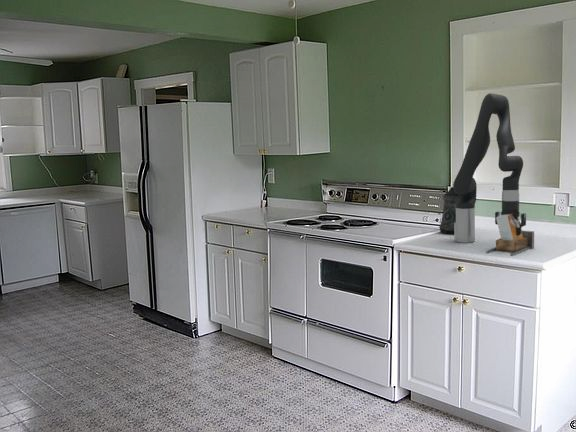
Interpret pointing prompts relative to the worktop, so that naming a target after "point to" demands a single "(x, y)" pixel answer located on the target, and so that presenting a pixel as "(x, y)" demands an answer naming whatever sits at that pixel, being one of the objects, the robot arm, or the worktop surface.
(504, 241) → the socket block
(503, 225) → the small box
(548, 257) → the worktop surface
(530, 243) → the backstop track
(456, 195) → the beer stein
